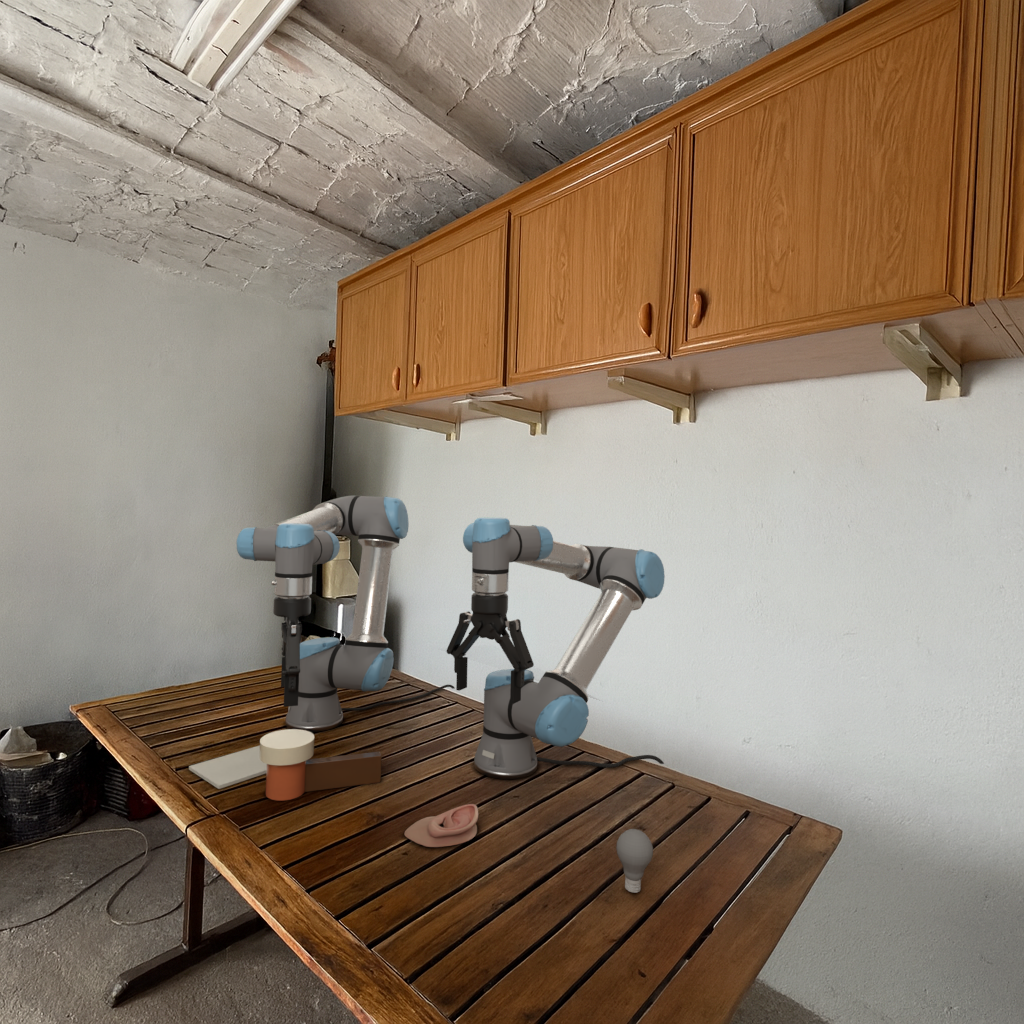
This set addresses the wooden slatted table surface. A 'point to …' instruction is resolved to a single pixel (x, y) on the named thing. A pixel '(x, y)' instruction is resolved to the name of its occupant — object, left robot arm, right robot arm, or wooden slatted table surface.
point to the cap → (286, 747)
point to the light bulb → (634, 857)
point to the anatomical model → (445, 827)
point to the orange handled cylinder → (322, 775)
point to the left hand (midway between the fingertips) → (289, 695)
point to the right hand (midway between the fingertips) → (487, 695)
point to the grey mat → (231, 768)
